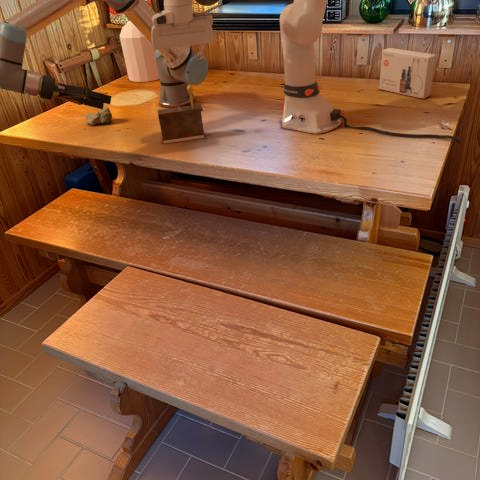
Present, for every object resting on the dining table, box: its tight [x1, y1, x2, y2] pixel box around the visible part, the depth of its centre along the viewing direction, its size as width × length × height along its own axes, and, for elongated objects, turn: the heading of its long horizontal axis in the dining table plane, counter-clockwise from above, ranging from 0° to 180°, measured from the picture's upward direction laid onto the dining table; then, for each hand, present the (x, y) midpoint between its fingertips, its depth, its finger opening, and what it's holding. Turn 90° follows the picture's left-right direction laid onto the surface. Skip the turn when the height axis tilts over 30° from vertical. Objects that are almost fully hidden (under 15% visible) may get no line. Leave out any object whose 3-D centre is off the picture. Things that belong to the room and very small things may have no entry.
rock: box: [85, 105, 113, 126], centre depth 189 cm, size 11×6×10 cm
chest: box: [158, 111, 205, 144], centre depth 166 cm, size 15×5×10 cm, turn 100°
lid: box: [157, 85, 203, 118], centre depth 161 cm, size 16×5×8 cm, turn 100°
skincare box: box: [378, 47, 437, 100], centre depth 184 cm, size 21×6×16 cm, turn 40°
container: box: [119, 20, 160, 83], centre depth 235 cm, size 21×21×28 cm
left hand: (107, 103), depth 159 cm, fingers open, 13 cm apart
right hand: (185, 60), depth 154 cm, fingers open, 8 cm apart
